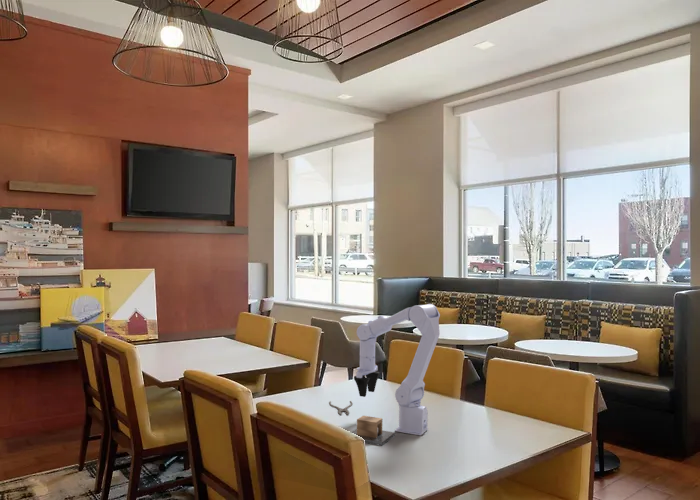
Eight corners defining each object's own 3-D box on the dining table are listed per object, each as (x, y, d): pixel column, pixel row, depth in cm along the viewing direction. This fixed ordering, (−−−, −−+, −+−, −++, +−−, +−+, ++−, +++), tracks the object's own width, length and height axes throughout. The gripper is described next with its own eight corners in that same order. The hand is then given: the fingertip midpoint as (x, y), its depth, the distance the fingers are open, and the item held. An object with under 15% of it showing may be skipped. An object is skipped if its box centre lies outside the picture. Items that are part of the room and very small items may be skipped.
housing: (382, 433, 178) (382, 418, 178) (376, 438, 174) (376, 422, 174) (363, 430, 181) (363, 415, 181) (356, 434, 177) (356, 419, 177)
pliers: (349, 399, 223) (365, 412, 204) (349, 401, 223) (365, 415, 204) (327, 401, 220) (340, 414, 201) (327, 403, 220) (340, 417, 201)
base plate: (394, 435, 179) (394, 424, 179) (381, 445, 170) (381, 434, 170) (359, 429, 185) (359, 419, 185) (345, 439, 175) (345, 428, 175)
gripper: (365, 352, 205) (365, 388, 205) (348, 359, 192) (348, 397, 192) (382, 354, 202) (382, 390, 202) (366, 360, 189) (366, 399, 189)
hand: (367, 393), depth 197 cm, fingers open, 7 cm apart
